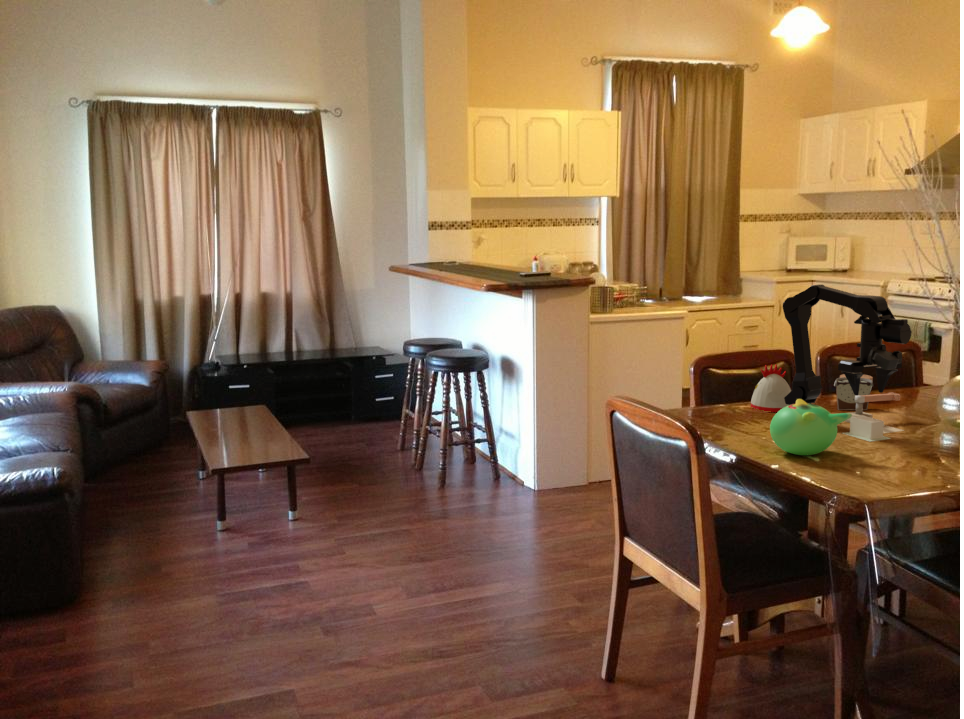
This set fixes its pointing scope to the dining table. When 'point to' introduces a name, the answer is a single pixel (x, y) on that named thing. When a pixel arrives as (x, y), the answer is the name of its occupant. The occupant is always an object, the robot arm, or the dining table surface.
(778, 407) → the kitchen timer
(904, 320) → the robot arm
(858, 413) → the housing
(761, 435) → the dining table surface
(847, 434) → the mat
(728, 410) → the dining table surface
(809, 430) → the toy bird
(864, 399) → the latch bar
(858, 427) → the block
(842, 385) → the food container
